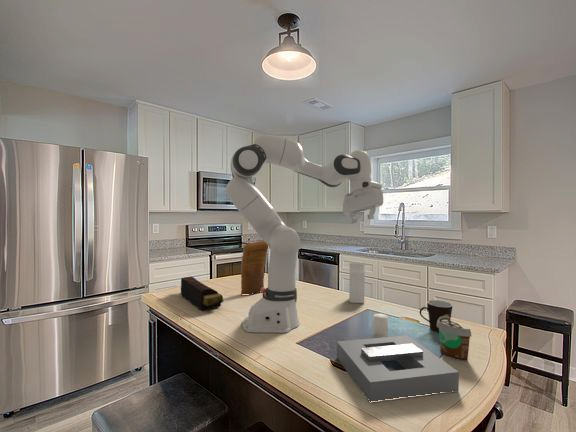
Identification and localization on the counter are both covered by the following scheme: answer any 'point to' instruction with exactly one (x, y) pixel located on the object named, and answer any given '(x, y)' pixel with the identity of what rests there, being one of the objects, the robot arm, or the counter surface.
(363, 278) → the milk carton
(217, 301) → the packaged item
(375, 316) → the tapered cream cylinder
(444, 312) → the coffee mug
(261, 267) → the pancake mix bag
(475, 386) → the counter surface
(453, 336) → the food container
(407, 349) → the flat gray rectangular bar
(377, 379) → the gray square frame block
